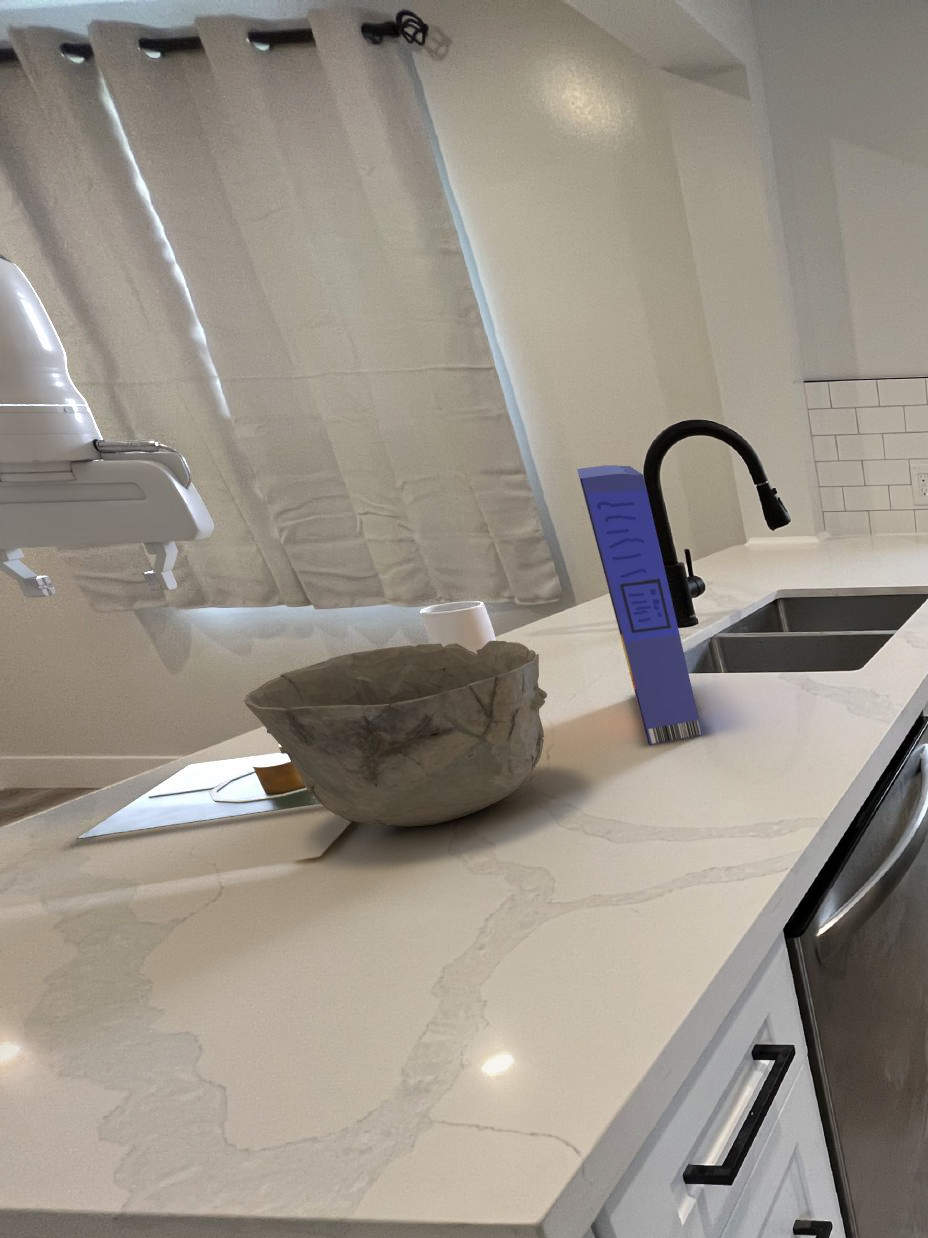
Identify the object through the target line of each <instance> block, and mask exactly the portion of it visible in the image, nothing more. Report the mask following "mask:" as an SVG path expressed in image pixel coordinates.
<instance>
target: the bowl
mask: <svg viewBox="0 0 928 1238" xmlns="http://www.w3.org/2000/svg"><path fill="white" fill-rule="evenodd" d="M539 663H540V654H539V653H537V654H536V652H535V650H533V649H529V648H528V647H527V646H526V645H524V644H523V643H520V642H515V641H507V640H496V641H489V642H488V643H487V644H486V645H485V646H484V647H483V648H482V649H479V650H477V654H475V653H474V652H471V651H469V650H467V649H466V648H464V647H462V646H461V645H459V644H457V643H455V644H448V645H446V646H445V647H443V646H442V645H441V644H431V643H424V644H421V643H420V644H417V645H410V644H409V645H402V646H401V645H399V646H392V647H384V648H383V647H382V648H377V649H371V650H366V651H358V652H353V653H347V654H343V655H337V656H334V657H331V658H330V657H329V658H328V659H326V660H323V661H320V662H318V663H314V664H311V665H308V666H305V667H301V668H297V669H294V670H290V671H287V672H284V673H281V674H279V676H278V677H275V678H274V679H271V680H268V681H266V682H264V683H263V684H261V685H260V686H259V687H257V688H256V689H254V690H252V691H251V692H249V693H248V694H246V695H245V699H244V700H243V702H244V704H245V706H246V707H247V708H248V709H249V711H251V712H252V713H253V715H254V716H255V717H256V718H257V719H258V720H259V722H260V723H261V724H262V725H263V727H264V728H265V729H266V733H267V734H270V735H271V737H272V738H273V739H274V740H275V741H276V742H277V743H278V745H279V744H280V746H281V747H282V748H283V750H284V751H285V753H286V754H287V755H288V757H289V759H290V761H291V763H292V764H293V766H294V767H295V769H296V771H297V772H298V774H299V775H300V777H301V779H302V782H303V784H304V785H305V787H306V788H307V790H308V791H309V793H310V794H312V796H313V797H314V798H315V799H316V800H317V801H318V802H319V803H320V804H319V805H321V806H322V807H324V809H326V810H328V811H329V812H331V813H332V814H334V815H335V816H337V817H340V818H341V819H344V820H347V821H350V822H355V823H359V824H368V825H380V826H387V825H388V826H389V825H390V826H396V827H412V828H413V827H425V826H433V825H438V824H443V823H447V822H448V823H449V822H451V821H455V820H457V819H460V818H464V817H466V816H469V815H472V814H474V813H476V812H479V811H481V810H485V809H486V808H488V807H490V806H491V805H493V804H495V803H496V804H497V802H500V801H501V800H503V799H505V798H507V797H508V796H509V795H511V794H512V793H513V792H515V791H516V790H517V789H518V788H520V787H521V785H523V783H524V782H525V781H526V780H527V778H528V777H529V776H530V775H531V774H532V772H533V770H534V769H535V768H536V766H537V765H538V763H539V762H540V759H541V756H542V754H543V748H544V738H545V731H544V728H543V723H542V720H541V716H540V709H542V707H543V706H544V705H545V704H546V700H545V699H546V698H547V697H548V693H547V692H546V691H545V690H543V689H542V688H540V687H539V677H540V668H539V667H540V666H539V665H540V664H539Z"/></svg>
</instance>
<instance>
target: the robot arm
mask: <svg viewBox="0 0 928 1238" xmlns="http://www.w3.org/2000/svg"><path fill="white" fill-rule="evenodd" d="M25 275H26V274H24V272H23V271H22V270H21V269H20V268H19V266H17V265H16V264H15V263H14V262H12V261H11V260H10V259H8V258H7V257H6V256H4V255H2V254H0V571H2V572H3V573H4V574H6V575H8V577H10V578H11V579H13V580H15V581H16V582H17V584H18V586H19V588H20V590H21V592H22V594H23V596H24V597H25V598H28V599H29V598H32V599H33V598H47V597H51V596H55V595H56V593H57V591H56V588H55V587H54V586H53V585H52V584H53V582H52V580H51V578H50V576H49V575H37V574H36V573H35V572H34V571H32V570H31V569H30V568H29V567H28V566H26V564H25V563H23V562H22V561H21V559H25V554H24V553H23V551H22V549H30V548H53V547H55V548H56V547H76V546H77V547H78V546H79V547H80V546H101V545H102V546H103V545H126V544H127V545H128V544H143V545H144V547H145V550H146V552H147V554H148V555H150V556H151V555H156V556H155V560H154V565H153V569H152V570H151V571H147V572H143V573H142V576H143V577H144V581H146V582H147V587H148V588H149V590H150V591H152V592H156V591H172V590H175V589H177V588H178V583H177V581H176V578H175V576H174V573H173V569H174V566H175V563H176V560H177V558H178V557H177V556H178V554H179V549H178V548H177V545H176V542H193V541H194V542H195V541H199V540H204V539H208V538H210V537H211V535H212V534H213V532H214V529H215V524H214V521H213V518H212V516H211V515H210V512H209V510H208V508H207V506H206V504H205V502H204V501H203V499H202V497H201V495H200V494H199V492H198V490H197V488H196V487H195V486H194V484H193V482H192V481H193V476H192V473H191V470H190V468H189V465H188V463H187V460H186V459H185V457H184V456H183V455H182V453H180V452H179V451H178V450H176V449H175V448H173V447H171V446H169V445H166V444H163V443H161V442H160V441H158V440H155V439H138V440H126V439H125V440H123V439H103V436H102V435H101V433H100V430H99V428H98V425H97V424H96V421H95V419H94V416H93V414H92V411H91V408H90V407H89V404H88V403H87V401H86V399H85V397H84V396H83V395H82V394H81V393H80V391H78V389H77V388H76V386H75V385H74V382H73V381H72V379H71V377H70V374H69V371H68V365H67V354H66V351H65V349H64V347H63V344H62V342H61V340H60V337H59V335H58V333H57V331H56V329H55V327H54V325H53V322H52V321H51V318H50V317H49V315H48V312H47V311H46V309H45V307H44V304H43V303H42V301H41V299H40V297H39V296H38V294H37V292H36V291H35V289H34V288H33V286H32V284H31V283H30V281H29V279H28V278H27V277H26V276H25ZM163 450H165V452H164V451H163Z"/></svg>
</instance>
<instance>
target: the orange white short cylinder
mask: <svg viewBox="0 0 928 1238" xmlns="http://www.w3.org/2000/svg"><path fill="white" fill-rule="evenodd" d="M252 766H253V769H254V771H255V773H256V775H257V777H258V779H259V781H260V783H261V785H262V788H263V790H264V792H265V793H270V794H274V793H283V792H288V791H293V790H296V789H299V788H302V787H305V785H304V784H303V782H302V779H301V777H300V775H299V774H298V772H297V771H296V769H295V767H294V766H293V764H292V763H291V761H290V759H289V757H288V755H287V754H280V755H275V756H271V757H267V758H264V759H261V760H259V761H257V762H255V763H254V764H253V765H252Z"/></svg>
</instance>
